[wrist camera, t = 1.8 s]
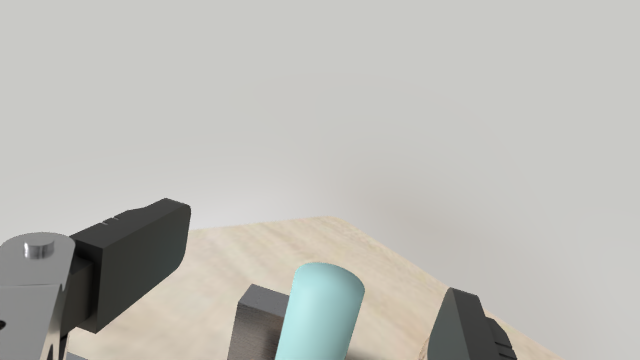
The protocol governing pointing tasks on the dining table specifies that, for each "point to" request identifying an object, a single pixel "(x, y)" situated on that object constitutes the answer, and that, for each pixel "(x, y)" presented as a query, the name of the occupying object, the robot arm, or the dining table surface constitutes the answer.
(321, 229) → the dining table surface
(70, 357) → the tray
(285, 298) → the gray rectangular block
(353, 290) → the dowel
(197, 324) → the dining table surface
